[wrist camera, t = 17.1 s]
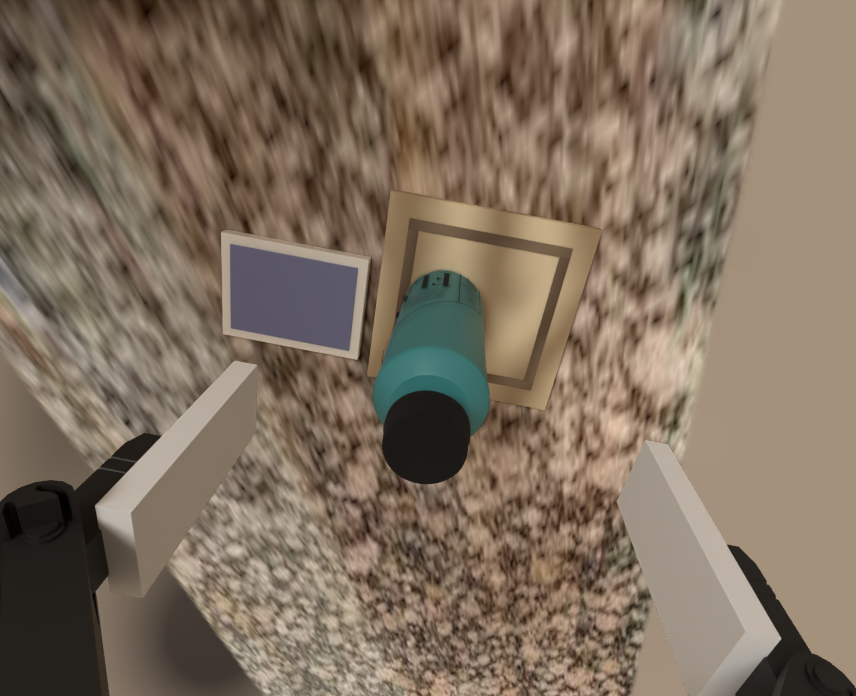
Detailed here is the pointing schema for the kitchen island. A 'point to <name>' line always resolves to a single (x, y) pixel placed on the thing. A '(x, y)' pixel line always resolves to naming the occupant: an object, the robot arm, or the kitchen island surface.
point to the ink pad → (293, 294)
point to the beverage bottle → (433, 378)
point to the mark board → (491, 283)
